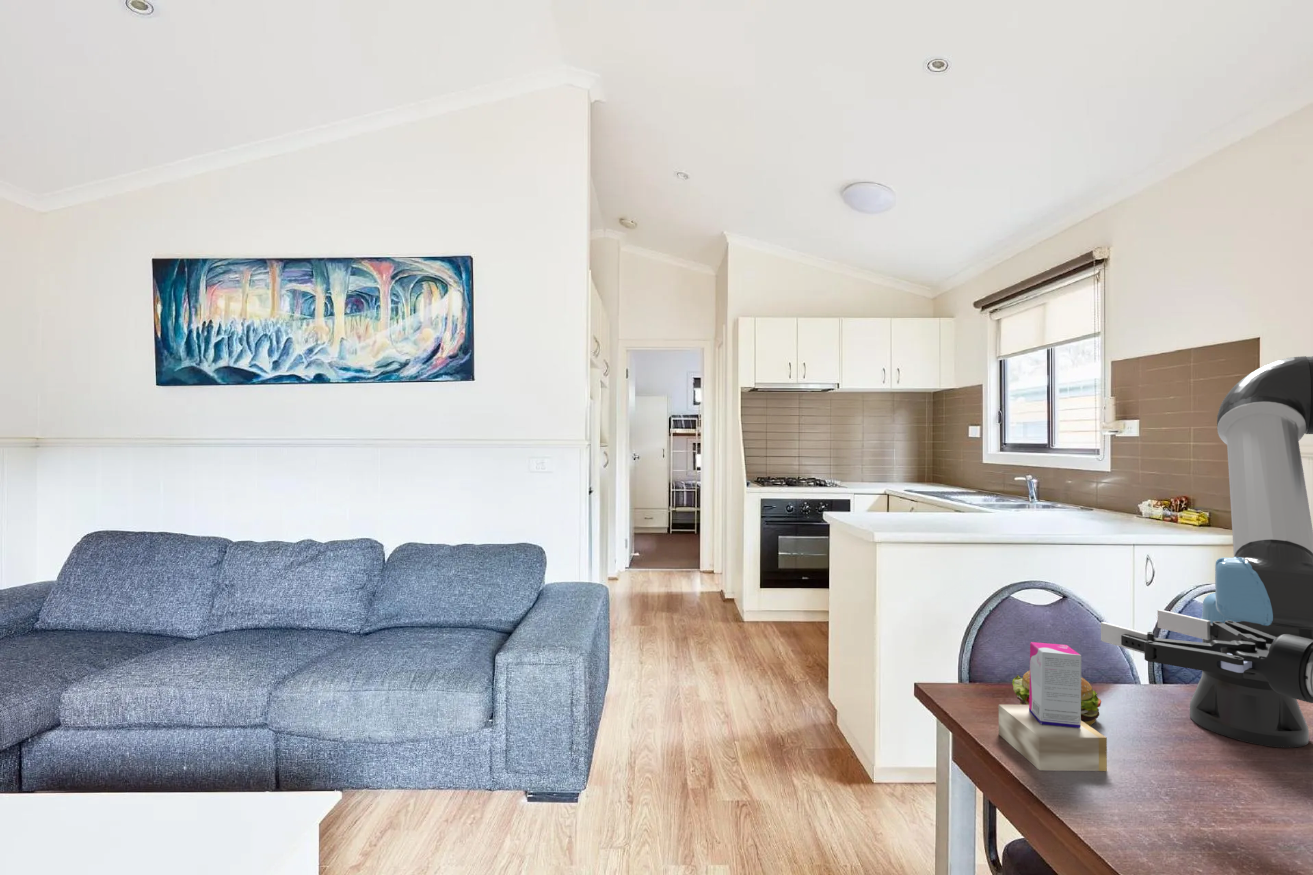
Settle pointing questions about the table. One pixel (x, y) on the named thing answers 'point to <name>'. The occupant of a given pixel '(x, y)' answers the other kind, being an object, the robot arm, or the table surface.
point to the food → (1087, 697)
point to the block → (1052, 742)
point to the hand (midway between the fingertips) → (1131, 624)
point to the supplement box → (1055, 685)
